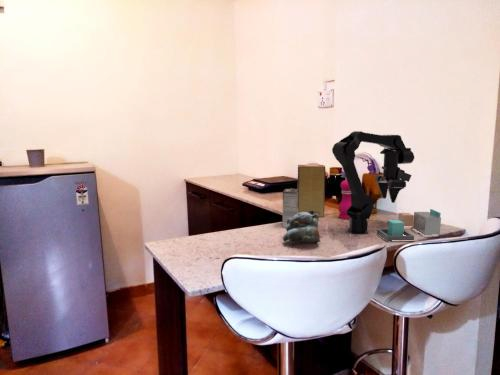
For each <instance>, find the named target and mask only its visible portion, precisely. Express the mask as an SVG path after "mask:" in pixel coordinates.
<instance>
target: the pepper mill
mask: <svg viewBox="0 0 500 375" xmlns="http://www.w3.org/2000/svg"><path fill="white" fill-rule="evenodd" d="M340 189H341V194H342V198H341V201H340V203H339V205H338V211H339V215H338V218H339V219H342V220H350V216H347V212H346V211H347V210H348V209H349V207H350V206H351V198H352V193H351V191H350V188H349V185H348V182H347V179H346V177H345V180H342V181H341V183H340Z"/></svg>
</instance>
